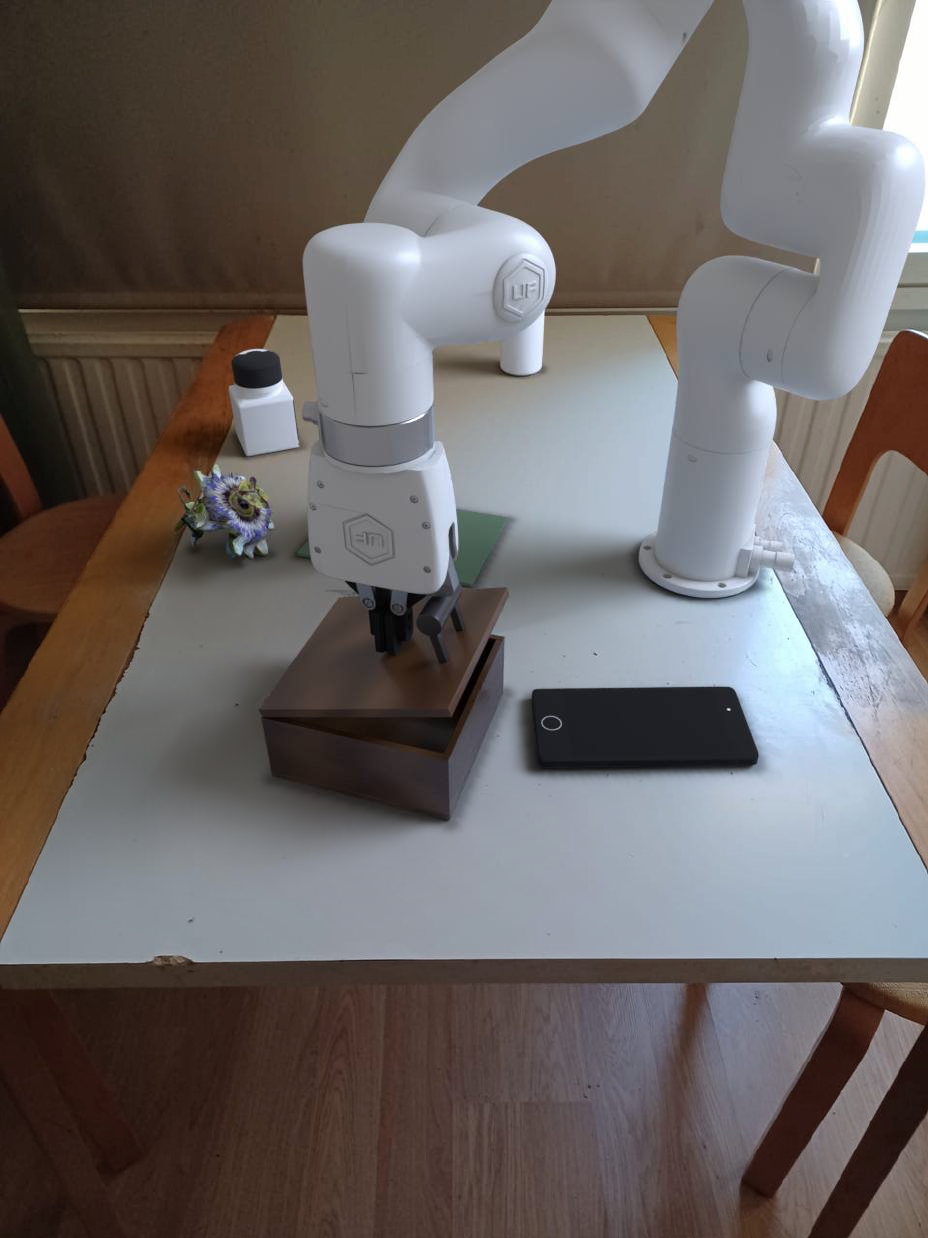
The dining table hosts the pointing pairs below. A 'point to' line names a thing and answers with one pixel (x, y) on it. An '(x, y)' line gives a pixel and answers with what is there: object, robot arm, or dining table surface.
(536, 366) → the can
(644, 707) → the cell phone
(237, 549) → the passion flower
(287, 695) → the lid
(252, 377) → the medicine bottle
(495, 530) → the mat
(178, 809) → the dining table surface
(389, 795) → the chest
